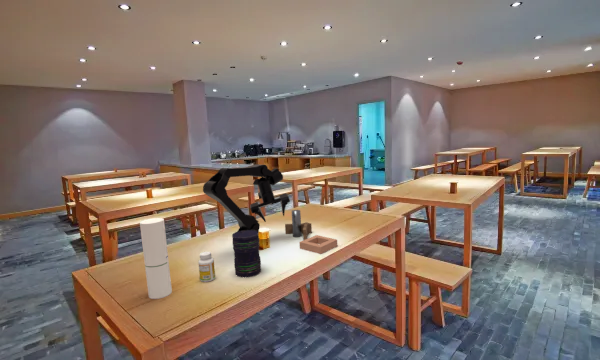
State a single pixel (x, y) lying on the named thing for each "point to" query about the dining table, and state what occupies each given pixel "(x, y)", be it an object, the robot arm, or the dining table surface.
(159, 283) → the cylindrical container
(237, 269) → the storage jar
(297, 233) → the steel axle
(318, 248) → the sleeve block
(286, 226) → the v block
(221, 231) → the dining table surface
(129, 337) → the dining table surface
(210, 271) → the supplement bottle
